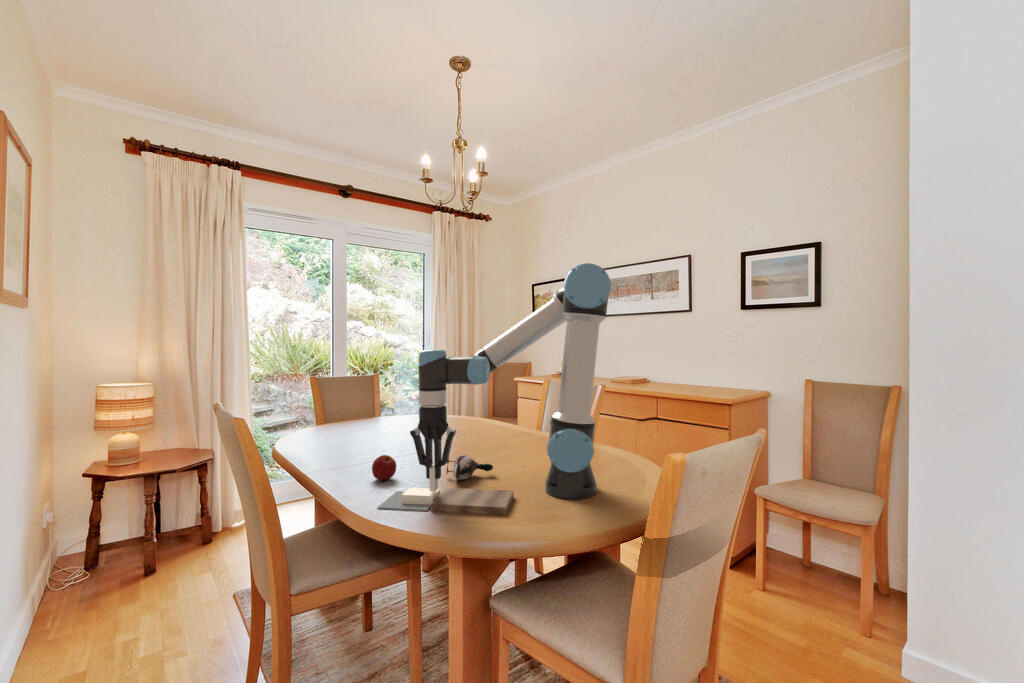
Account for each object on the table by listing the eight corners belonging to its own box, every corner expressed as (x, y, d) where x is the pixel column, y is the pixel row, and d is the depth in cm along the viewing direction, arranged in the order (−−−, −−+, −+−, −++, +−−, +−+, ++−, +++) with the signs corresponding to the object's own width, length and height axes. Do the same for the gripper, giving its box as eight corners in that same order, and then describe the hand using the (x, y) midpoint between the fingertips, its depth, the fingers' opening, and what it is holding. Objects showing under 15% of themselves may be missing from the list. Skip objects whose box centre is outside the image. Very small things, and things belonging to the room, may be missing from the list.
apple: (371, 485, 143) (371, 459, 143) (372, 477, 151) (372, 453, 151) (396, 482, 145) (396, 457, 145) (396, 475, 153) (395, 451, 153)
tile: (440, 497, 130) (440, 488, 130) (433, 505, 124) (433, 496, 124) (410, 495, 131) (409, 487, 131) (401, 503, 125) (401, 494, 125)
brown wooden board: (513, 497, 130) (513, 490, 130) (505, 515, 117) (505, 507, 117) (445, 494, 133) (445, 487, 133) (430, 511, 120) (430, 504, 120)
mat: (442, 494, 133) (442, 493, 133) (427, 511, 121) (427, 509, 121) (396, 492, 136) (396, 491, 136) (377, 508, 123) (377, 507, 123)
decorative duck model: (493, 453, 155) (493, 464, 140) (492, 476, 155) (491, 489, 140) (449, 450, 154) (444, 460, 139) (447, 472, 154) (442, 485, 139)
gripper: (459, 403, 129) (460, 486, 130) (415, 403, 132) (416, 484, 132) (451, 407, 122) (452, 495, 122) (405, 407, 124) (406, 493, 124)
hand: (433, 489), depth 127 cm, fingers closed
